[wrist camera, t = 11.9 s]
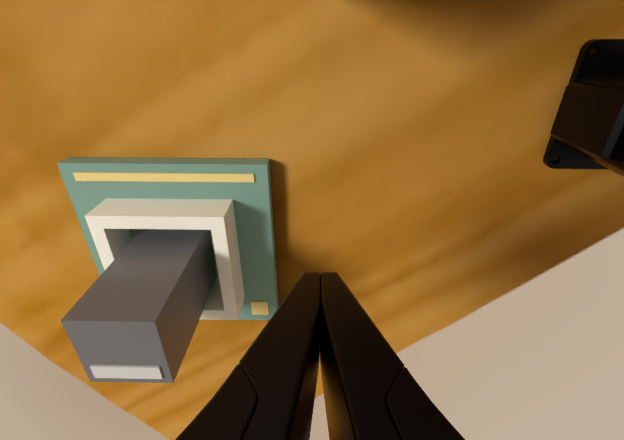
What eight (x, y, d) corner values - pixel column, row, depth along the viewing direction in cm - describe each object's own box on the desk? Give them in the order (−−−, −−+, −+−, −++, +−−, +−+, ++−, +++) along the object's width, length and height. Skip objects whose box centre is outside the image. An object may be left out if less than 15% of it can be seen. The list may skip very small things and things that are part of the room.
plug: (208, 226, 22) (153, 323, 14) (217, 282, 24) (174, 391, 17) (144, 225, 22) (59, 322, 15) (160, 281, 24) (92, 389, 17)
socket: (232, 199, 21) (223, 217, 19) (244, 296, 24) (238, 320, 22) (106, 198, 21) (84, 215, 19) (137, 295, 24) (122, 318, 23)
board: (269, 158, 20) (266, 165, 19) (278, 310, 26) (277, 321, 25) (67, 157, 21) (55, 163, 20) (122, 308, 26) (114, 318, 25)
